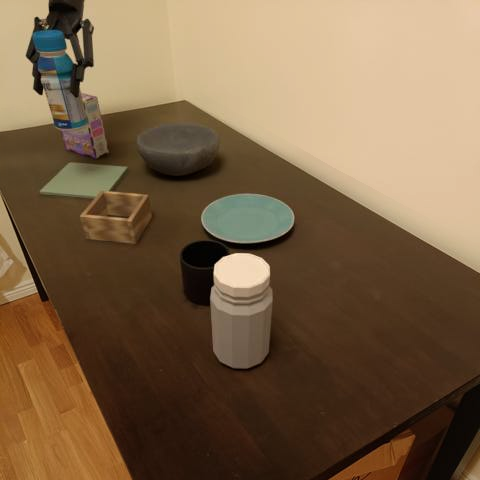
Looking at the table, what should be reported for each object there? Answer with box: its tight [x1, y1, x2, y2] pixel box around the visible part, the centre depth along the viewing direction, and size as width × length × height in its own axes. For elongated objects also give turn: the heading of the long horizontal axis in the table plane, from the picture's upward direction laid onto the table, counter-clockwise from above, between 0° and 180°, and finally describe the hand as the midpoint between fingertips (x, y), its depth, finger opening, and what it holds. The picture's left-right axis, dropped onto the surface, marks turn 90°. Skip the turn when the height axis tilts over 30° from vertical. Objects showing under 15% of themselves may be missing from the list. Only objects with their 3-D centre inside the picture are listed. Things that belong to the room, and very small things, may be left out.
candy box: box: [60, 92, 110, 160], centre depth 128 cm, size 14×6×16 cm, turn 58°
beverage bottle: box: [31, 30, 88, 132], centre depth 102 cm, size 8×8×20 cm
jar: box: [210, 252, 274, 370], centre depth 68 cm, size 10×10×18 cm
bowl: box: [135, 122, 220, 177], centre depth 122 cm, size 23×22×10 cm
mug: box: [179, 239, 231, 306], centre depth 84 cm, size 9×12×9 cm
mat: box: [39, 161, 129, 200], centre depth 119 cm, size 18×18×1 cm
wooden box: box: [79, 190, 153, 245], centre depth 101 cm, size 12×12×6 cm
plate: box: [200, 193, 295, 245], centre depth 102 cm, size 22×22×3 cm
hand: (55, 93), depth 100 cm, fingers closed on beverage bottle, 8 cm apart
